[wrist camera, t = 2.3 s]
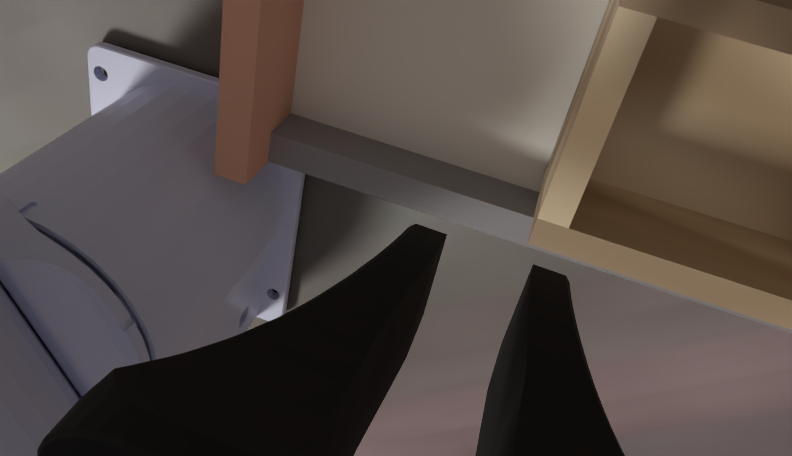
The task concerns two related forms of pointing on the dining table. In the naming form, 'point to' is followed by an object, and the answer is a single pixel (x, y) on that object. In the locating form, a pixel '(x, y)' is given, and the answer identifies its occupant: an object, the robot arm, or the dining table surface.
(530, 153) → the crate bay
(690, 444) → the dining table surface
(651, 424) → the dining table surface
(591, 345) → the dining table surface
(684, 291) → the crate
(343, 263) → the dining table surface
